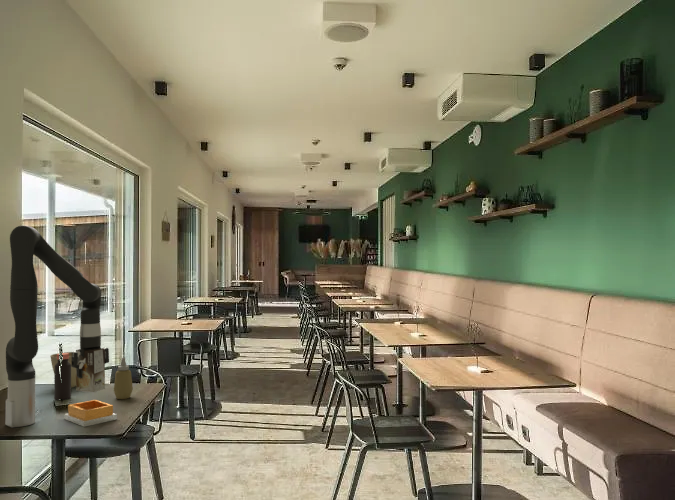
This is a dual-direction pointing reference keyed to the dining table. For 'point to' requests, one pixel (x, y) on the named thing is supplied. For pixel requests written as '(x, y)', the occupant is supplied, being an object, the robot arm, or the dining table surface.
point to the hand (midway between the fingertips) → (90, 376)
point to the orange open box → (90, 413)
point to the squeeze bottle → (123, 381)
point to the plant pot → (73, 370)
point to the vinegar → (62, 388)
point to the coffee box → (92, 371)
